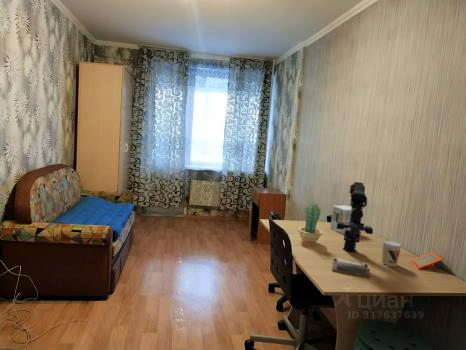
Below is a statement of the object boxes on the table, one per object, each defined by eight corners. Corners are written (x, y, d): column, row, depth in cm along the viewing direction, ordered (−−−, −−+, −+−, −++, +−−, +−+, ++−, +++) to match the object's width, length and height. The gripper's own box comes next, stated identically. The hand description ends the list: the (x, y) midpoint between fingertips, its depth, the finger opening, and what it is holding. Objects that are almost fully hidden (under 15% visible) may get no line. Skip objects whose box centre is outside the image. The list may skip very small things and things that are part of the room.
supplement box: (329, 228, 270) (332, 205, 268) (342, 227, 277) (345, 205, 274) (342, 234, 259) (345, 210, 256) (356, 232, 265) (359, 209, 263)
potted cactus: (319, 240, 239) (324, 202, 236) (323, 247, 224) (327, 208, 221) (295, 237, 241) (300, 200, 237) (297, 244, 225) (302, 205, 222)
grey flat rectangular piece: (337, 260, 199) (337, 256, 199) (364, 265, 196) (364, 261, 195) (336, 268, 188) (337, 264, 188) (365, 273, 184) (365, 269, 184)
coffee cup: (387, 267, 200) (390, 246, 198) (376, 260, 209) (379, 240, 207) (401, 266, 202) (404, 246, 201) (390, 260, 211) (393, 240, 210)
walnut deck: (333, 261, 201) (333, 257, 201) (367, 267, 196) (368, 264, 196) (332, 271, 187) (332, 266, 187) (369, 278, 182) (369, 273, 182)
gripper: (338, 215, 195) (334, 244, 197) (375, 221, 189) (371, 250, 191) (338, 211, 205) (335, 238, 207) (373, 216, 200) (369, 244, 202)
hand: (352, 242), depth 202 cm, fingers closed
